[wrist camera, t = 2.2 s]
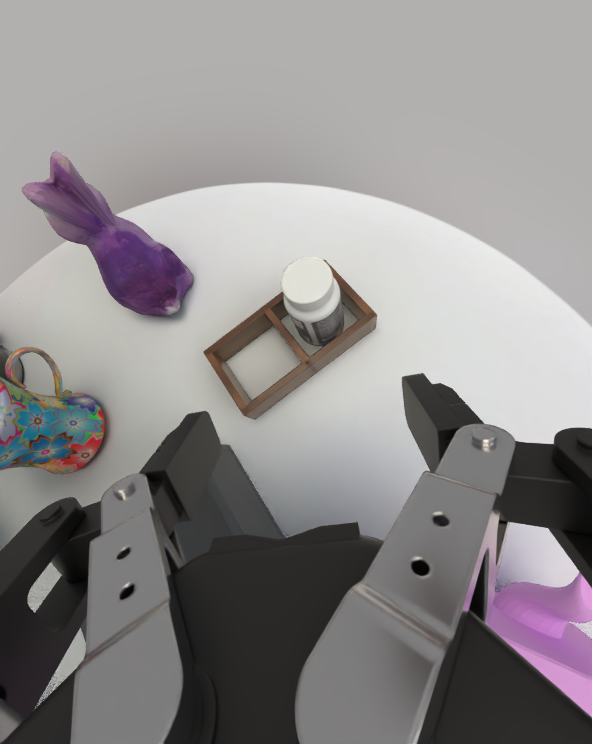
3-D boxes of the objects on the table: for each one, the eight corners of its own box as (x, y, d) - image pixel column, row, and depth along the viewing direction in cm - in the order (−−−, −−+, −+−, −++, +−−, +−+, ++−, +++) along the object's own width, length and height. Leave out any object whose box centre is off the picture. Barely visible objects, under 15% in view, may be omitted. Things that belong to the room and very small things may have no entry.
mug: (89, 491, 31) (-43, 510, 21) (27, 459, 33) (-117, 462, 23) (138, 382, 33) (41, 351, 23) (77, 360, 35) (-35, 323, 25)
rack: (217, 360, 32) (202, 351, 29) (327, 276, 31) (324, 259, 29) (255, 419, 29) (243, 416, 26) (375, 328, 29) (377, 314, 26)
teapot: (345, 575, 24) (334, 669, 14) (505, 516, 23) (625, 569, 13) (441, 831, 19) (535, 1263, 9) (648, 771, 18) (1024, 1188, 8)
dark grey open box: (120, 527, 29) (54, 548, 23) (229, 444, 29) (193, 442, 23) (181, 676, 25) (120, 753, 18) (310, 580, 25) (293, 624, 18)
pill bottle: (345, 303, 30) (340, 249, 22) (342, 347, 29) (336, 307, 21) (299, 303, 31) (279, 252, 23) (295, 345, 30) (272, 307, 22)
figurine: (129, 252, 38) (-8, 133, 24) (201, 249, 36) (98, 116, 22) (110, 320, 36) (-53, 234, 22) (186, 322, 34) (60, 227, 19)
